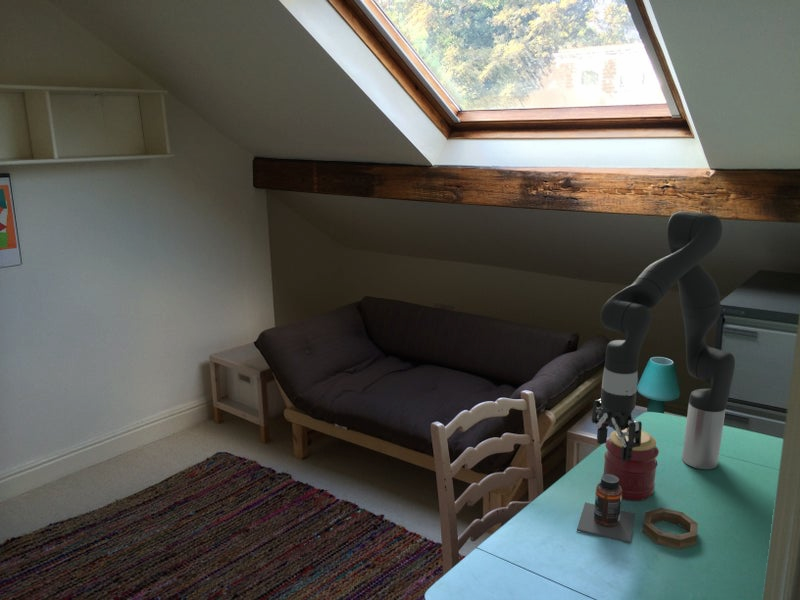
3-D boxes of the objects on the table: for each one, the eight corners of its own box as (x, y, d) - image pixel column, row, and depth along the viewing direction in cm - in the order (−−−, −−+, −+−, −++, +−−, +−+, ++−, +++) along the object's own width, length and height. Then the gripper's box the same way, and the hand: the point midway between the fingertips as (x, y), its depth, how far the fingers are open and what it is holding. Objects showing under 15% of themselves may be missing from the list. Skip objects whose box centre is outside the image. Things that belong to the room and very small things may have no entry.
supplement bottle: (624, 522, 165) (629, 480, 162) (608, 530, 162) (612, 488, 158) (604, 510, 170) (608, 469, 166) (588, 518, 166) (591, 476, 163)
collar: (645, 513, 169) (646, 504, 169) (696, 524, 165) (697, 515, 164) (641, 540, 159) (642, 531, 158) (695, 553, 155) (697, 543, 154)
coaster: (584, 504, 173) (585, 502, 173) (635, 515, 168) (635, 513, 168) (576, 531, 162) (576, 528, 162) (630, 543, 158) (630, 541, 158)
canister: (664, 498, 175) (671, 436, 170) (617, 505, 173) (623, 441, 168) (637, 472, 188) (643, 413, 183) (592, 477, 185) (598, 417, 180)
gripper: (586, 377, 160) (581, 440, 165) (626, 402, 148) (620, 469, 152) (612, 372, 163) (607, 435, 168) (654, 396, 150) (647, 462, 155)
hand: (613, 451), depth 160 cm, fingers open, 8 cm apart
